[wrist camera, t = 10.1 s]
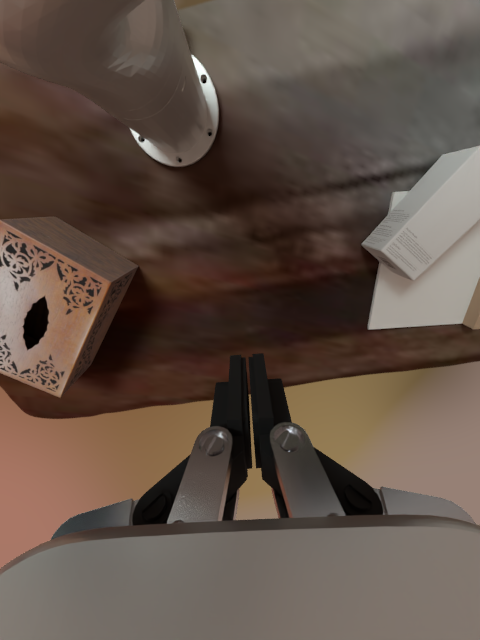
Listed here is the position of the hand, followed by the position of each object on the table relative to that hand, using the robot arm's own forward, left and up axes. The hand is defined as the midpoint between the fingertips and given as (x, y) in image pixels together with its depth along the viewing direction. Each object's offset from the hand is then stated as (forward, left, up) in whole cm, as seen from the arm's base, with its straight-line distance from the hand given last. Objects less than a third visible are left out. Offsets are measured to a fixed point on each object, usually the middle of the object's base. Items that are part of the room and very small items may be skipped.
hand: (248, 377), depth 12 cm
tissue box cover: (+6, -32, -33) cm, 46 cm away
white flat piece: (+4, +33, -32) cm, 46 cm away
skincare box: (+2, +23, -28) cm, 36 cm away
